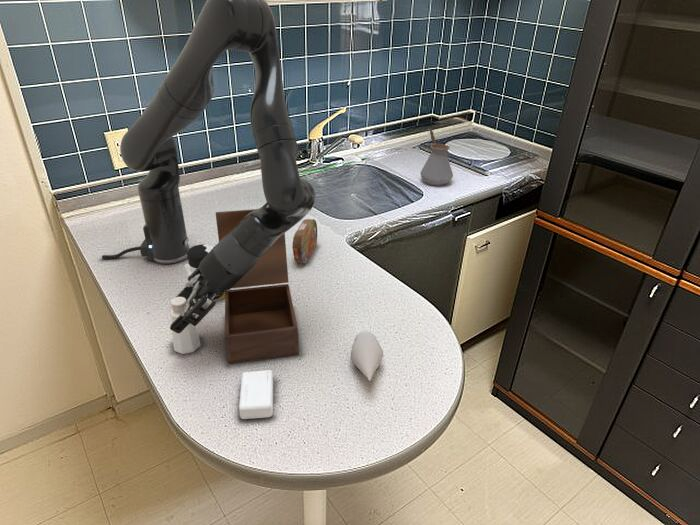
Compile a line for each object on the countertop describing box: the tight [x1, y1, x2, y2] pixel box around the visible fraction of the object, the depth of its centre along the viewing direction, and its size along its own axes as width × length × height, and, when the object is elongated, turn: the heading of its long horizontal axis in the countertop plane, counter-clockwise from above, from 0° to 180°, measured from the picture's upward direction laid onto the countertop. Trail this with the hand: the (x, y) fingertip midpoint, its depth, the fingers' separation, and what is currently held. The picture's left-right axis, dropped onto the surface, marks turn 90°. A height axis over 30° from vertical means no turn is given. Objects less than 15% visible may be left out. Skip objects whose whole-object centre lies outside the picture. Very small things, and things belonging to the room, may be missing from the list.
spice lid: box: [215, 208, 289, 289], centre depth 102 cm, size 16×13×1 cm
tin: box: [291, 218, 318, 264], centre depth 128 cm, size 15×3×8 cm, turn 168°
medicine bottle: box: [184, 243, 226, 303], centre depth 111 cm, size 7×7×12 cm
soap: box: [238, 369, 274, 420], centre depth 86 cm, size 9×6×3 cm, turn 7°
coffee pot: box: [419, 128, 454, 187], centre depth 177 cm, size 21×12×15 cm, turn 4°
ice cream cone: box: [350, 330, 384, 382], centre depth 92 cm, size 6×6×15 cm
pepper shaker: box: [170, 296, 201, 355], centre depth 96 cm, size 5×5×11 cm
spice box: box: [224, 283, 300, 365], centre depth 100 cm, size 15×13×7 cm
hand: (176, 316), depth 94 cm, fingers open, 8 cm apart
